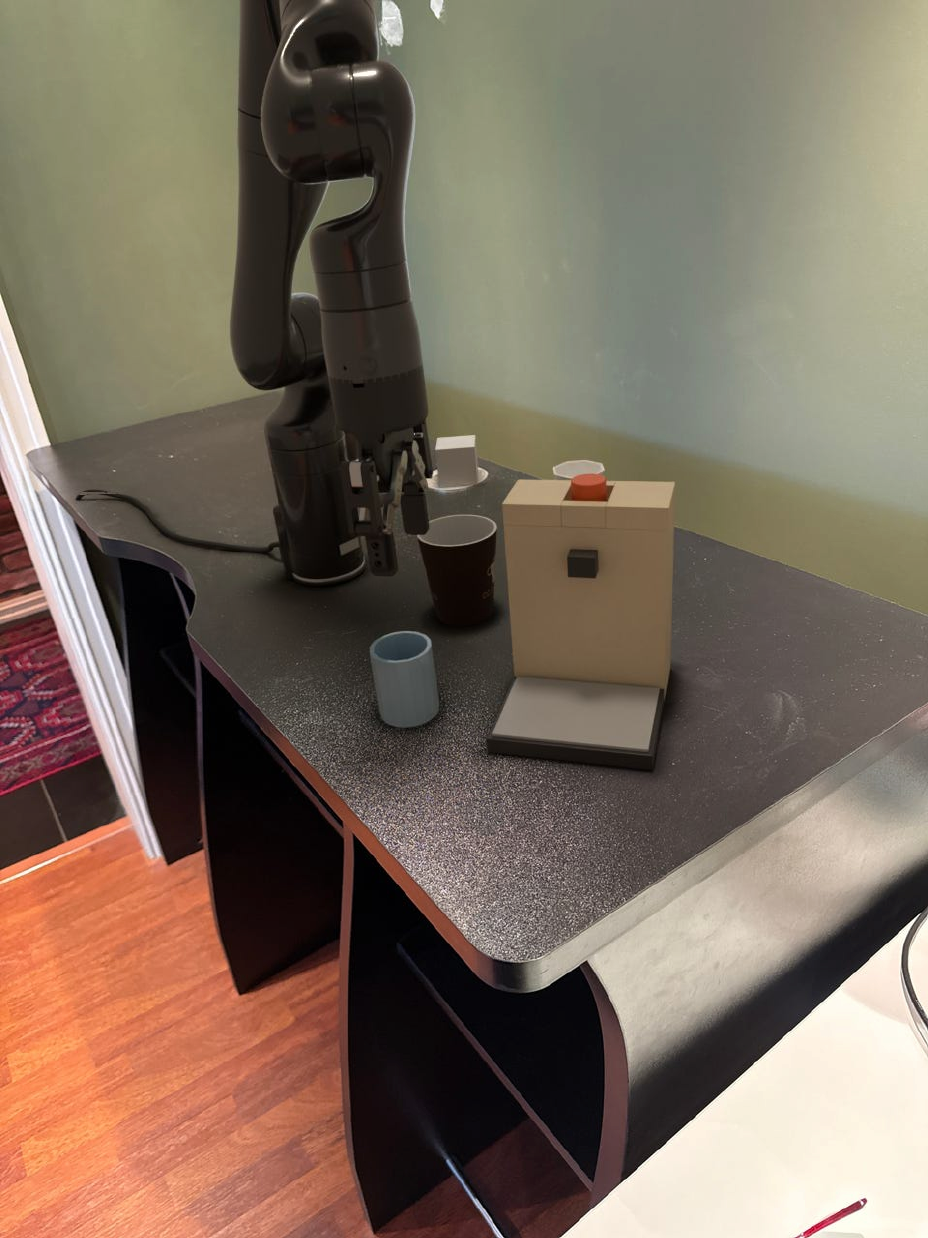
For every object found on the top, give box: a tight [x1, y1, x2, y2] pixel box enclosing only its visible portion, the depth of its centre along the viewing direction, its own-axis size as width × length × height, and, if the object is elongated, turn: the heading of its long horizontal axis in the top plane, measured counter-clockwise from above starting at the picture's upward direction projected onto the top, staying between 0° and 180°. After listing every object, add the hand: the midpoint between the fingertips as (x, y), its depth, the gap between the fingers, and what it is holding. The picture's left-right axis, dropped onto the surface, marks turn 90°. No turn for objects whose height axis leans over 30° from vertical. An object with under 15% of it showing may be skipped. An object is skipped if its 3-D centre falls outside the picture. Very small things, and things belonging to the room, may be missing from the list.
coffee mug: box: [416, 514, 498, 627], centre depth 98 cm, size 12×9×10 cm
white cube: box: [434, 434, 479, 488], centre depth 137 cm, size 6×6×6 cm
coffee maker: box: [486, 479, 676, 771], centre depth 76 cm, size 14×16×19 cm
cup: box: [552, 459, 606, 480], centre depth 116 cm, size 7×10×8 cm
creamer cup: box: [369, 630, 440, 729], centre depth 81 cm, size 6×6×7 cm
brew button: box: [571, 474, 607, 502], centre depth 76 cm, size 3×3×2 cm
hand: (402, 553), depth 77 cm, fingers open, 8 cm apart
